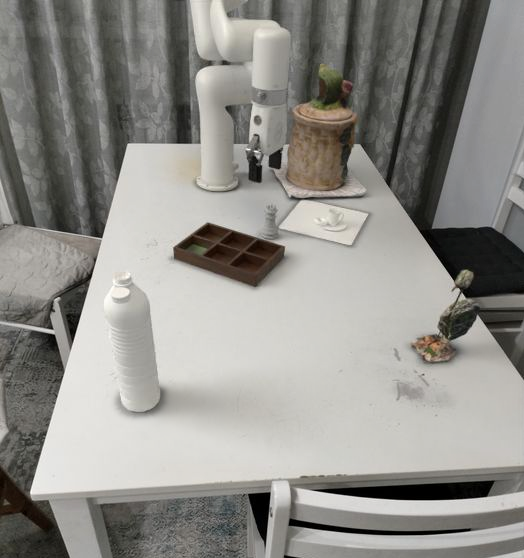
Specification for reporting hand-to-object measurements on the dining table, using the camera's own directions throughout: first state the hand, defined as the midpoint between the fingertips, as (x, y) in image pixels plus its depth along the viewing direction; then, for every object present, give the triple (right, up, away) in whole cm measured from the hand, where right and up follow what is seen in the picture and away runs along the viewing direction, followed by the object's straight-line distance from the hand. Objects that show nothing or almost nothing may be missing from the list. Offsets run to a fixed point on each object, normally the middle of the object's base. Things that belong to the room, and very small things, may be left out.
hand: (265, 174), depth 118 cm
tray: (-9, -19, +2) cm, 21 cm away
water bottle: (-21, -51, -34) cm, 64 cm away
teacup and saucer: (+16, -6, +20) cm, 26 cm away
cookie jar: (+16, +11, +38) cm, 43 cm away
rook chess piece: (+1, -12, +12) cm, 17 cm away
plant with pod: (+34, -41, -19) cm, 57 cm away
